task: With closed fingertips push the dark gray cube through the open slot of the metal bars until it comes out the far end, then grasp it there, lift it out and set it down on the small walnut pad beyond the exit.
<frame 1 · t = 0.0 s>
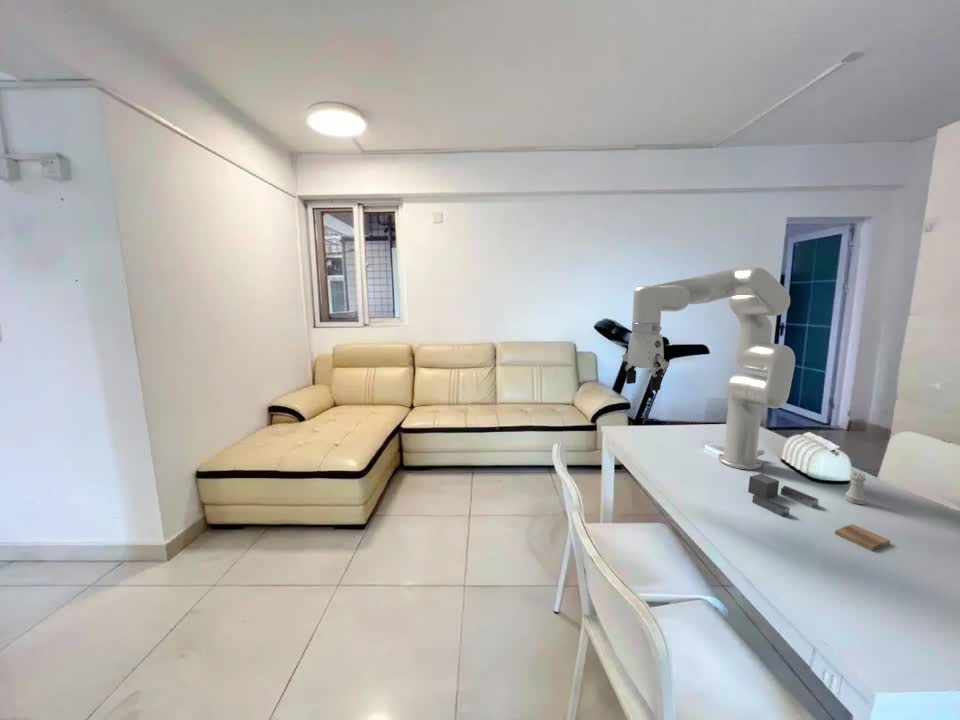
hand: (642, 386, 115), 31 cm above the table, fingers open, 9 cm apart
dark gray cube: (762, 494, 113), on the table
pad: (861, 538, 92), on the table
rook chess piece: (854, 501, 109), on the table
metal bars: (784, 504, 108), on the table
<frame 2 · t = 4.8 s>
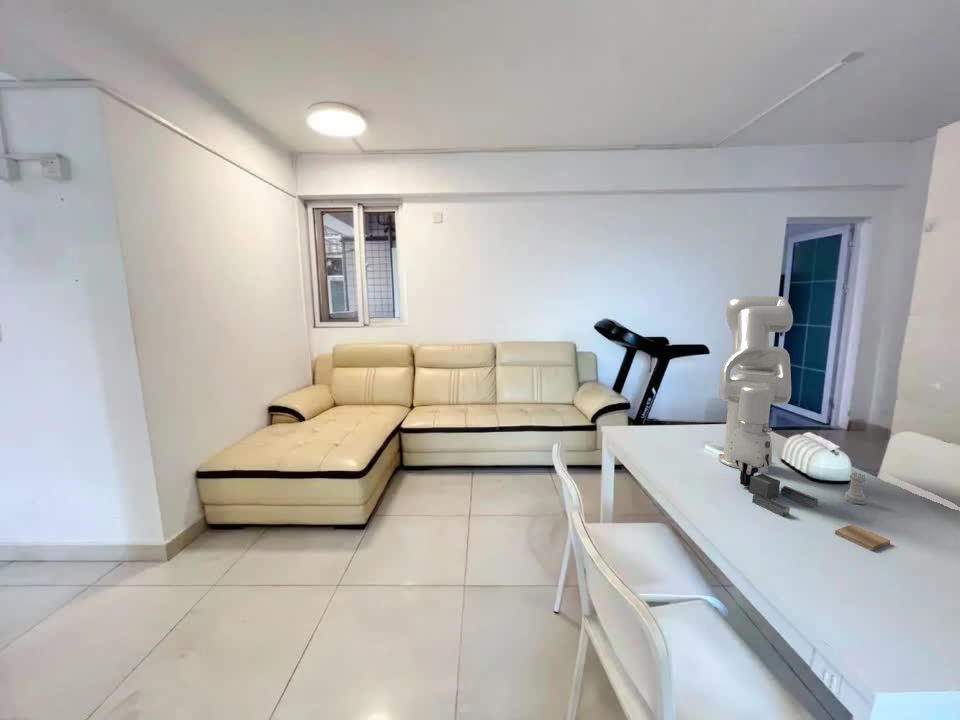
hand: (746, 484, 118), 1 cm above the table, fingers closed
dark gray cube: (763, 494, 113), on the table, touching gripper
everything else where it was.
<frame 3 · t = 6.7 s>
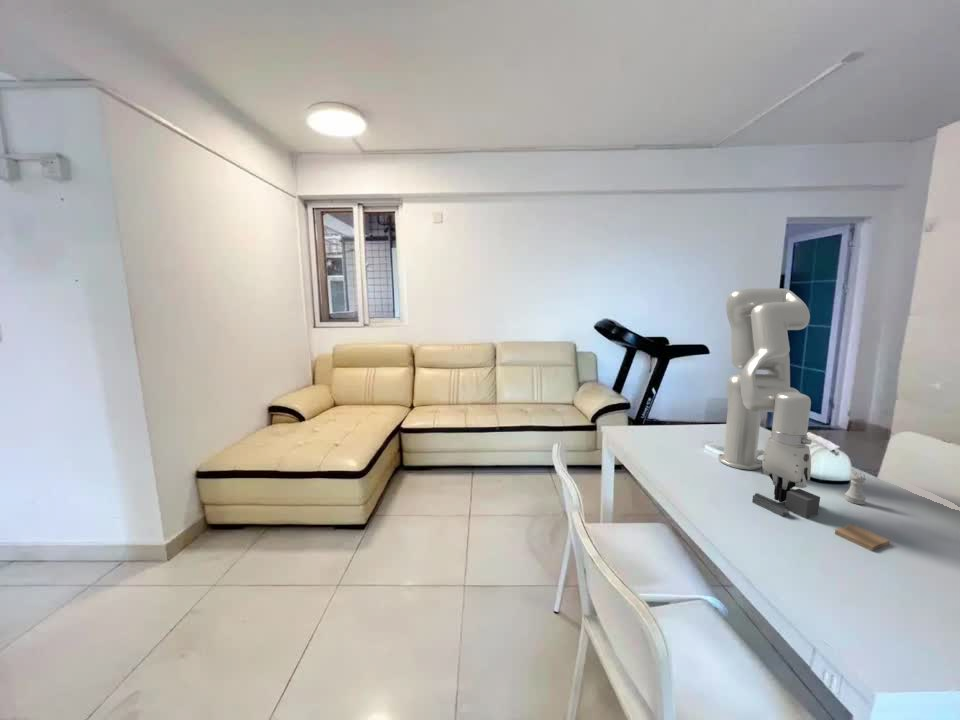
hand: (781, 499, 109), 1 cm above the table, fingers closed
dark gray cube: (801, 511, 104), on the table, touching gripper
everything else where it was.
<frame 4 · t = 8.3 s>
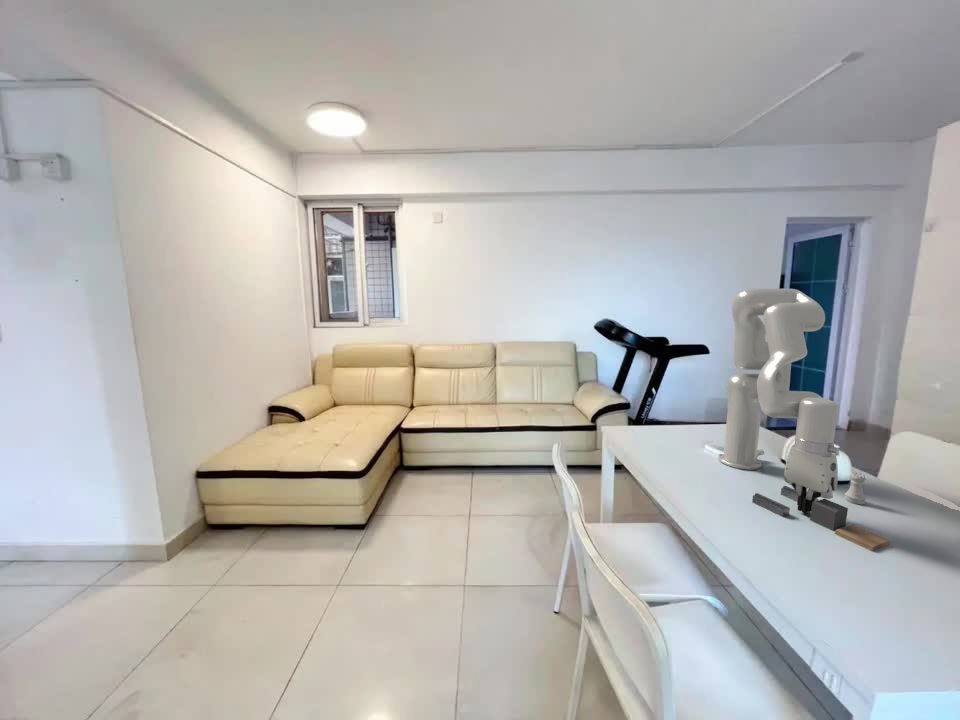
hand: (804, 510, 103), 1 cm above the table, fingers closed
dark gray cube: (827, 523, 99), on the table, touching gripper
everything else where it was.
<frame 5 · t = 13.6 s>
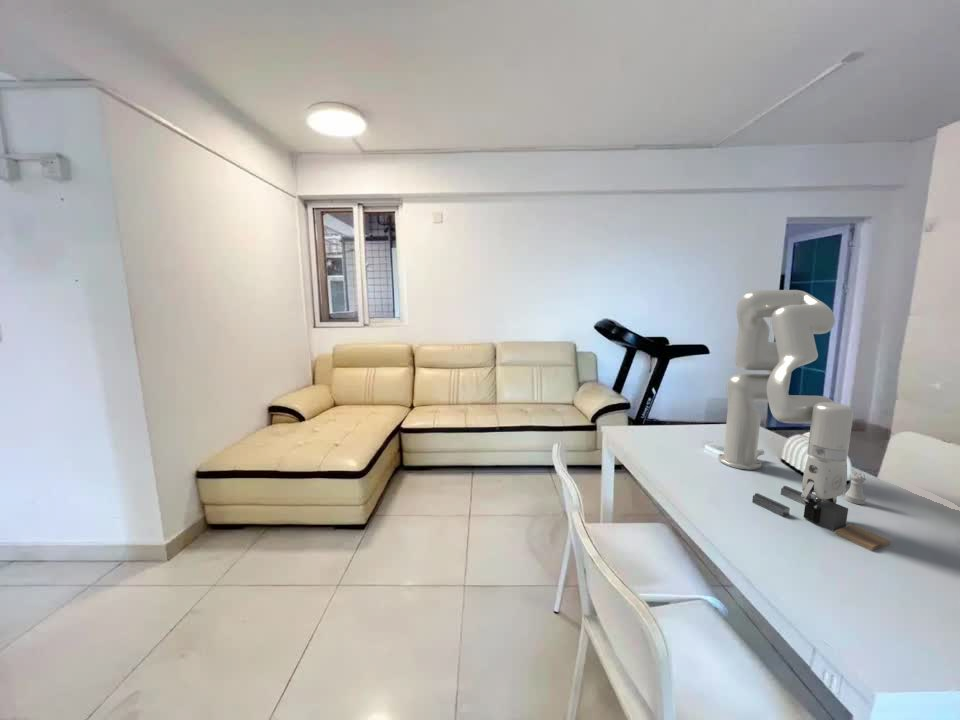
hand: (818, 517, 100), 0 cm above the table, fingers closed on dark gray cube, 5 cm apart
dark gray cube: (827, 523, 98), on the table, touching gripper
everything else where it was.
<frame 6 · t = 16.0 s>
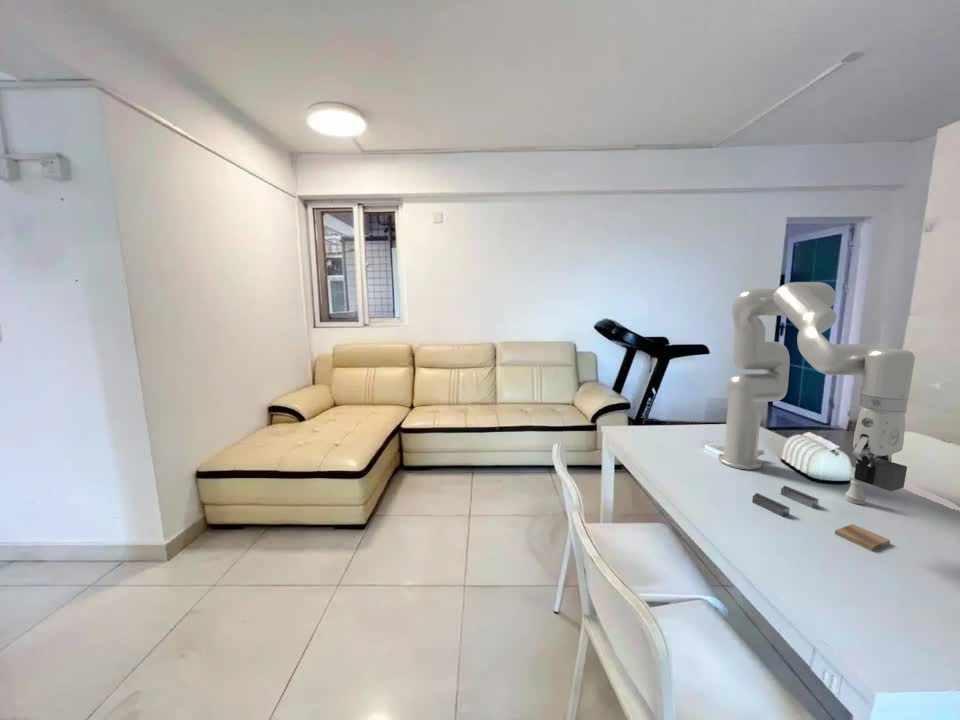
hand: (870, 478, 90), 15 cm above the table, fingers closed on dark gray cube, 5 cm apart
dark gray cube: (882, 484, 88), point 15 cm above the table, touching gripper
everything else where it was.
when the fingers open (3 cm above the table, at t = 18.6 s): dark gray cube drops 1 cm, resting on pad.
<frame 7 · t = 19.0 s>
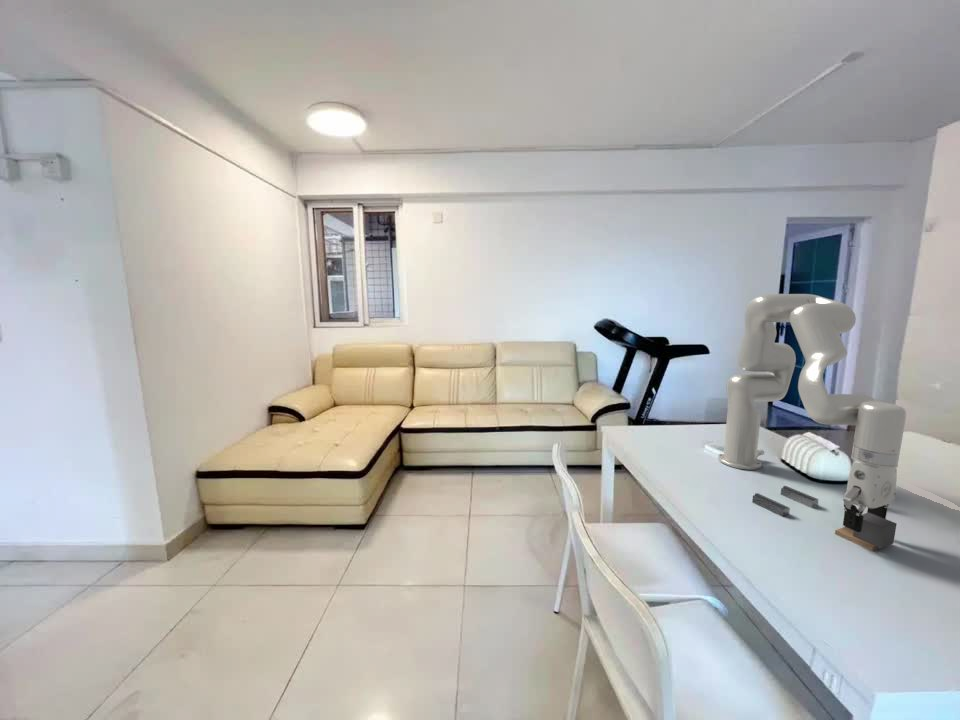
hand: (863, 524, 91), 4 cm above the table, fingers open, 9 cm apart
dark gray cube: (872, 539, 90), point 1 cm above the table, touching pad
everything else where it was.
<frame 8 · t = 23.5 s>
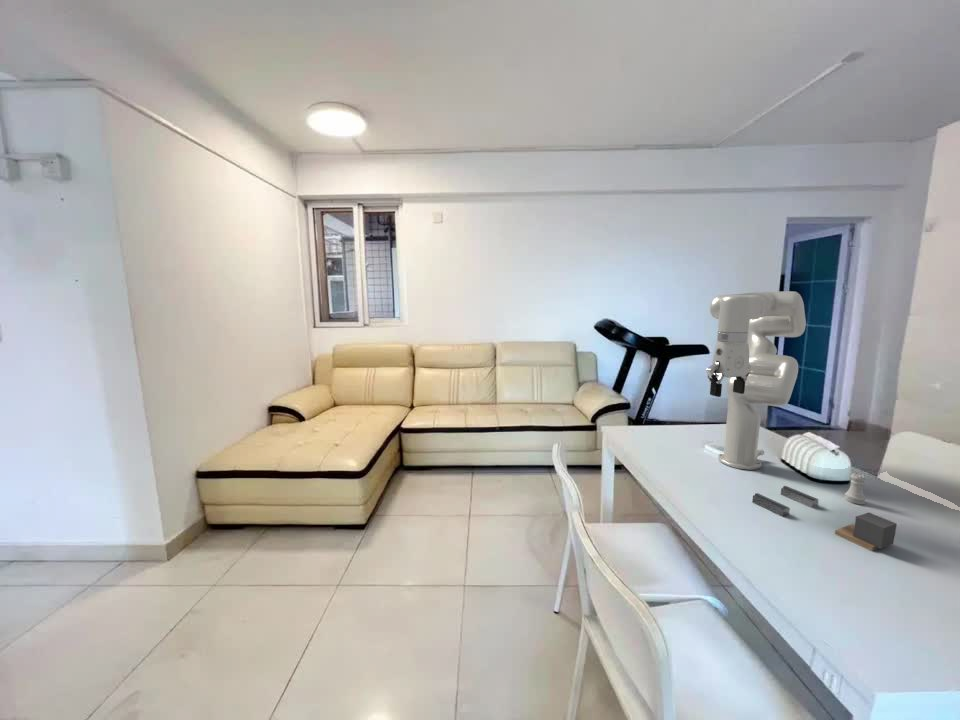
hand: (727, 394, 117), 28 cm above the table, fingers open, 9 cm apart
nothing on the table moved.
at the end: dark gray cube inside the target area on the pad (2.0 cm from its centre), point 1.0 cm above the pad's base; dark gray cube touching pad; the gripper is holding nothing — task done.
